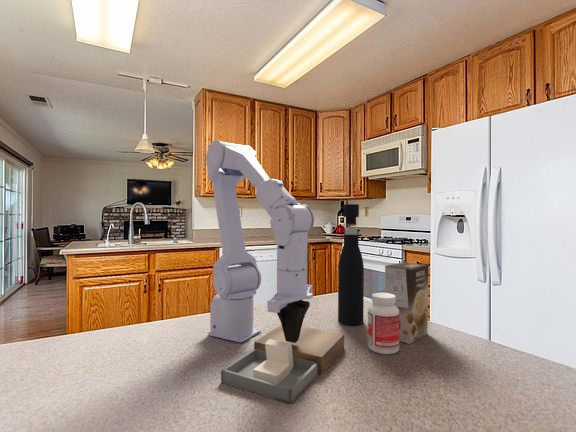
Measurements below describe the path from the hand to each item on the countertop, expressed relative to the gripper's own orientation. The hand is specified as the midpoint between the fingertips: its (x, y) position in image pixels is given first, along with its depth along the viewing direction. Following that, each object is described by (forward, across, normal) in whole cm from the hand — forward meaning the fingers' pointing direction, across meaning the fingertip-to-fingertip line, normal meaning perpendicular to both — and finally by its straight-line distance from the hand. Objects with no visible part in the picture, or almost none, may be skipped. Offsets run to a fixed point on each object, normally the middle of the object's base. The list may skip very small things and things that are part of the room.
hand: (291, 340), depth 62 cm
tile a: (+1, -4, 0) cm, 4 cm away
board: (+4, +4, 0) cm, 5 cm away
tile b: (+2, -8, 0) cm, 8 cm away
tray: (+4, -8, 0) cm, 8 cm away
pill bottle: (+4, +14, -14) cm, 20 cm away
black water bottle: (+4, +27, -3) cm, 27 cm away
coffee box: (+4, +24, -17) cm, 29 cm away
